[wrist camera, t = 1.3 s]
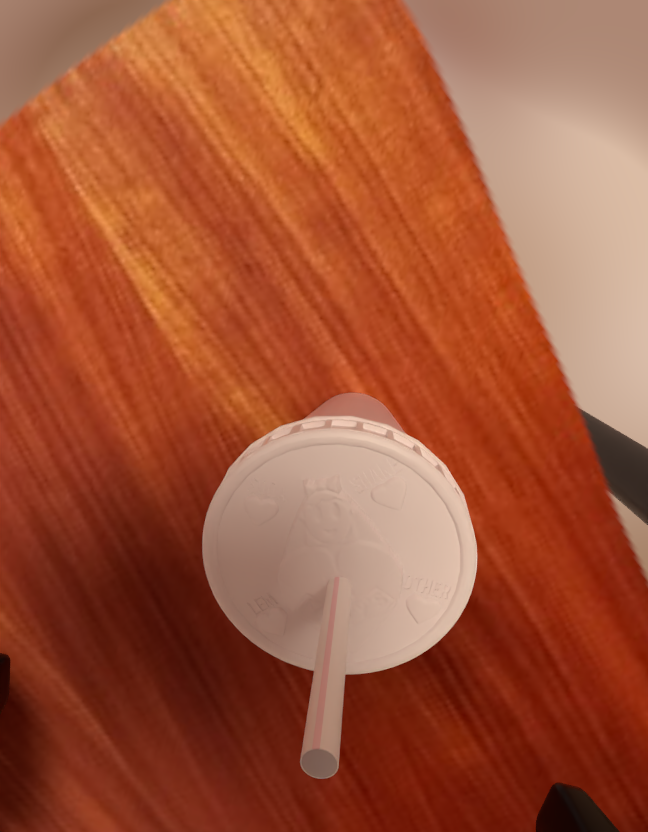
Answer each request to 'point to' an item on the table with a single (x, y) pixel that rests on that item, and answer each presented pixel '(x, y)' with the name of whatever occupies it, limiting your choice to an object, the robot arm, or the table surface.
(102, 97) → the table surface
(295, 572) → the smoothie
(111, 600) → the table surface
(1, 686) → the robot arm
